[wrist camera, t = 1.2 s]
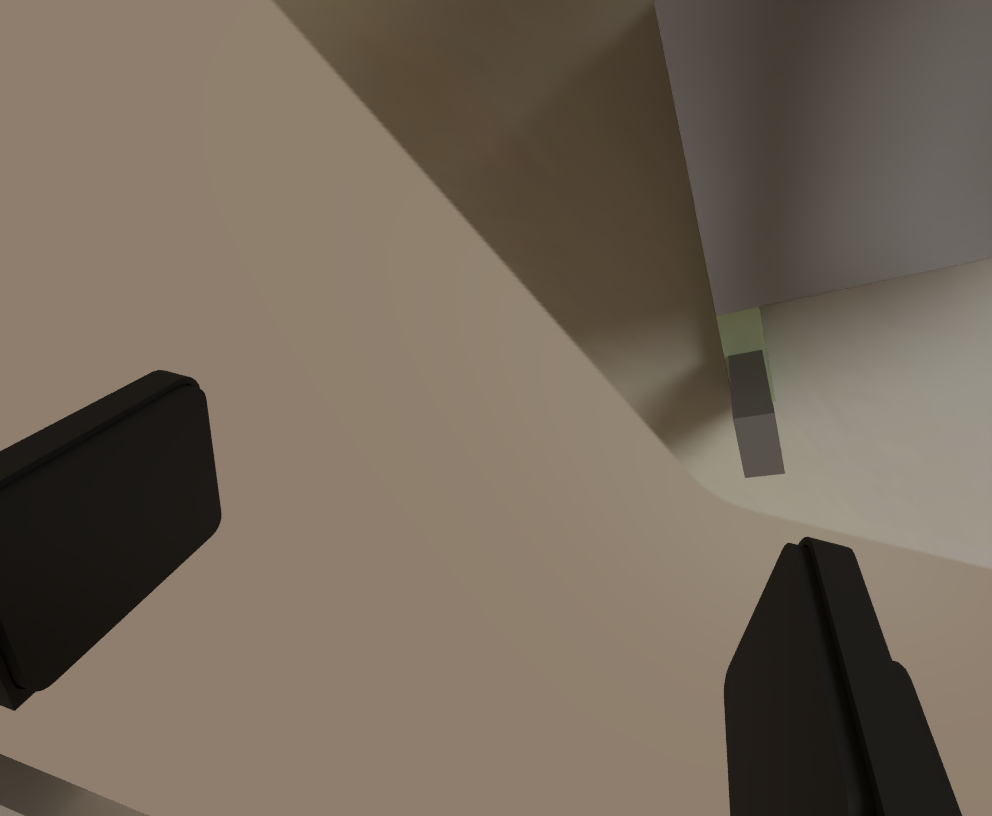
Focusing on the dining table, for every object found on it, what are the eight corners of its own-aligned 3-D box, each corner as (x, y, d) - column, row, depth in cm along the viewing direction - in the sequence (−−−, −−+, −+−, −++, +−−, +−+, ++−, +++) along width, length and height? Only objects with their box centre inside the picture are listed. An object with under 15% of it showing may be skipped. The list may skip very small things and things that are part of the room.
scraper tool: (739, 192, 29) (749, 232, 22) (772, 387, 33) (790, 473, 26) (695, 204, 30) (692, 247, 23) (733, 393, 34) (740, 478, 27)
